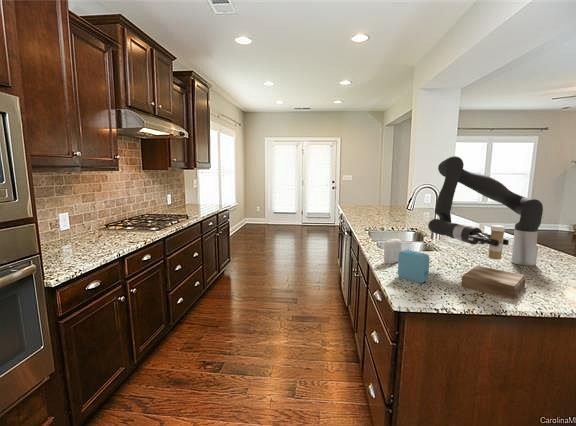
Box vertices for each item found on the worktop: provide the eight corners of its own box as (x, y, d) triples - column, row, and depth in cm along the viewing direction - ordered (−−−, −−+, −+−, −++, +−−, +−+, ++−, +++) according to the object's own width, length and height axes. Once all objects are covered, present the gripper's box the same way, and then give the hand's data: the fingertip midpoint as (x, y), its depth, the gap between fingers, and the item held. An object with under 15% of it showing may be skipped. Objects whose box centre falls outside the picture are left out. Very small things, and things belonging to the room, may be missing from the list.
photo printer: (395, 259, 165) (396, 236, 163) (402, 261, 161) (403, 238, 160) (382, 262, 159) (383, 239, 157) (389, 264, 156) (390, 241, 154)
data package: (428, 281, 132) (429, 254, 131) (423, 284, 130) (424, 256, 128) (402, 274, 142) (403, 249, 140) (397, 276, 139) (398, 250, 137)
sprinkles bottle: (487, 258, 124) (490, 225, 122) (488, 256, 128) (492, 224, 126) (500, 260, 121) (504, 227, 119) (502, 258, 125) (505, 225, 123)
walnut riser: (475, 275, 139) (476, 265, 138) (524, 286, 126) (525, 275, 125) (461, 286, 127) (462, 274, 126) (514, 299, 114) (515, 286, 113)
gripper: (454, 226, 135) (489, 234, 118) (480, 224, 139) (517, 232, 122) (453, 243, 136) (488, 253, 120) (478, 241, 140) (515, 251, 123)
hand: (502, 243), depth 121 cm, fingers closed on sprinkles bottle, 4 cm apart
